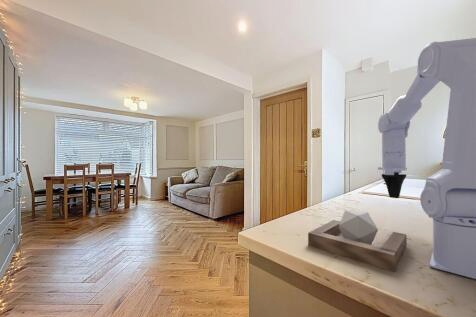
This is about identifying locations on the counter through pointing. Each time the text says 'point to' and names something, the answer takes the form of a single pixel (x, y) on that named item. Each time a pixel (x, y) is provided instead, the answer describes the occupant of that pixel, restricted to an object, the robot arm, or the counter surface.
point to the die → (358, 227)
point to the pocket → (359, 246)
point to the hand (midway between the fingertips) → (394, 197)
